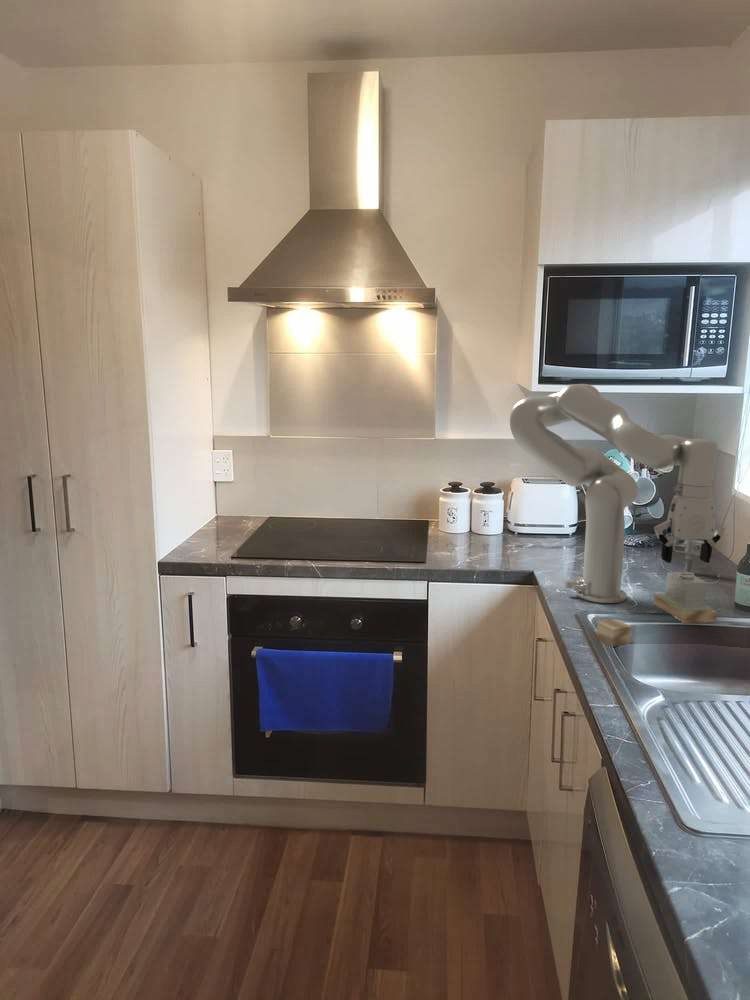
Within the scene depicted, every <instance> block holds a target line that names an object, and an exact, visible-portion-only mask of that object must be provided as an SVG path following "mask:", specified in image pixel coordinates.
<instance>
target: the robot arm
mask: <svg viewBox="0 0 750 1000" xmlns="http://www.w3.org/2000/svg"><path fill="white" fill-rule="evenodd" d="M571 421H574V422H575V423H578V424H579V425H581V426H583V427H585V428H587V429H588V430H589V431H592V432H594V433H596V434H597V435H599V436H600V437H603V439H605V440H606V441H607V442H608V443H609V444H610V445H612V446H613V447H614V448H615V449H616V450H618V451H619V452H620V453H622V454H624V455H625V456H627V457H628V458H631V459H632V460H634V461H636V462H637V463H640V464H641V465H643V466H645V467H647V468H650V469H654V470H662V469H664V468H667V467H671V466H679V469H678V470H679V471H678V478H677V479H678V480H677V483H676V485H675V486H672V488H671V490H672V493H675V494H676V495H673V497H672V501H671V504H670V507H669V511H668V516H667V520H665V521H663V522H661V523H659V524H657V525H655V526H654V527H653V530H654V533H655V535H656V539H658V540H659V541H660V542H659V543H660V544H662V547H661V555H660V557H661V559H662V560H663V562H666V563H668V564H670V563H672V558H673V551H674V549H673V546H672V545H673V542H674V541H675V540H676V539H678V540H679V541H685V540H699V541H703V542H704V544H702V545H701V548H700V549H701V552H700V556H699V560H700V561H702V562H704V563H706V564H709V563H710V561H711V558H712V553H713V551H712V550H713V547H715V546H716V543H718V541H720V540H721V537H722V536H723V534H724V532H725V530H726V529H725V527H724V526H721V525H720V524H718V523H716V516H717V515H716V501H715V498H713V497H712V494H713V484H714V478H715V469H716V461H717V455H718V444H717V442H716V441H714V440H710V439H706V438H688V437H683V436H678V435H675V434H664V435H656V434H654V433H652V432H651V431H649V430H647V429H645V428H644V427H642V426H640V425H639V424H637V423H635V421H633V420H632V419H631V418H630V417H629V416H628V411H626V410H625V408H624V407H622V406H620V405H619V404H617V403H615V402H613V401H611V400H609V399H607V398H605V397H604V396H602V395H601V393H600V391H599V390H598V389H597V388H596V387H595V386H594V385H591V384H586V383H577V384H576V383H575V384H569V385H566V386H565V387H564V388H562V389H561V390H560V391H559V392H555V393H552V394H547V395H543V396H542V395H541V396H530V397H525V398H523V399H521V400H519V401H517V403H515V405H513V407H512V409H511V412H510V416H509V427H510V430H511V434H512V437H513V438H514V441H515V442H516V443H517V444H518V445H519V446H520V447H521V448H522V449H523V450H524V451H525V452H526V453H527V454H529V455H530V456H531V457H532V458H534V459H535V460H537V462H539V463H540V464H541V465H542V466H543V467H545V468H546V469H547V470H548V471H550V472H551V473H552V475H555V476H556V477H557V478H558V479H560V480H561V481H562V482H563V483H564V484H566V485H568V486H570V487H581V486H583V485H585V486H586V487H587V489H586V491H585V495H584V497H585V498H584V508H585V536H584V537H585V540H584V553H583V567H582V569H583V570H582V571H583V572H582V574H583V575H582V576H578V579H576V580H574V581H573V580H564V583H563V587H564V589H572V590H573V591H575V595H576V596H577V597H578V598H581V600H582V599H583V600H585V601H589V602H594V603H598V604H599V603H601V604H616V603H622V602H624V601H625V600H627V593H626V592H625V590H623V589H622V575H623V562H624V550H625V549H624V548H625V534H626V533H625V531H626V527H625V526H626V524H625V521H626V520H625V508H627V507H629V506H631V505H632V504H633V503H634V502H635V501H636V499H637V497H638V494H639V486H638V483H637V481H636V480H635V478H634V477H633V476H632V475H631V474H629V473H628V472H627V471H626V470H624V469H623V468H622V467H620V466H619V465H618V464H616V463H615V462H614V461H612V460H611V459H610V458H609V457H607V456H606V455H604V454H603V453H601V452H600V451H598V450H596V449H594V448H590V447H580V448H577V447H574V446H573V445H571V444H570V443H569V442H568V441H566V440H565V439H564V438H562V437H561V436H560V435H558V434H557V433H555V432H553V431H551V430H549V429H548V427H553V426H557V425H560V424H564V423H568V422H571ZM664 530H665V531H666V534H665V535H664V534H663V532H664Z"/></svg>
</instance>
